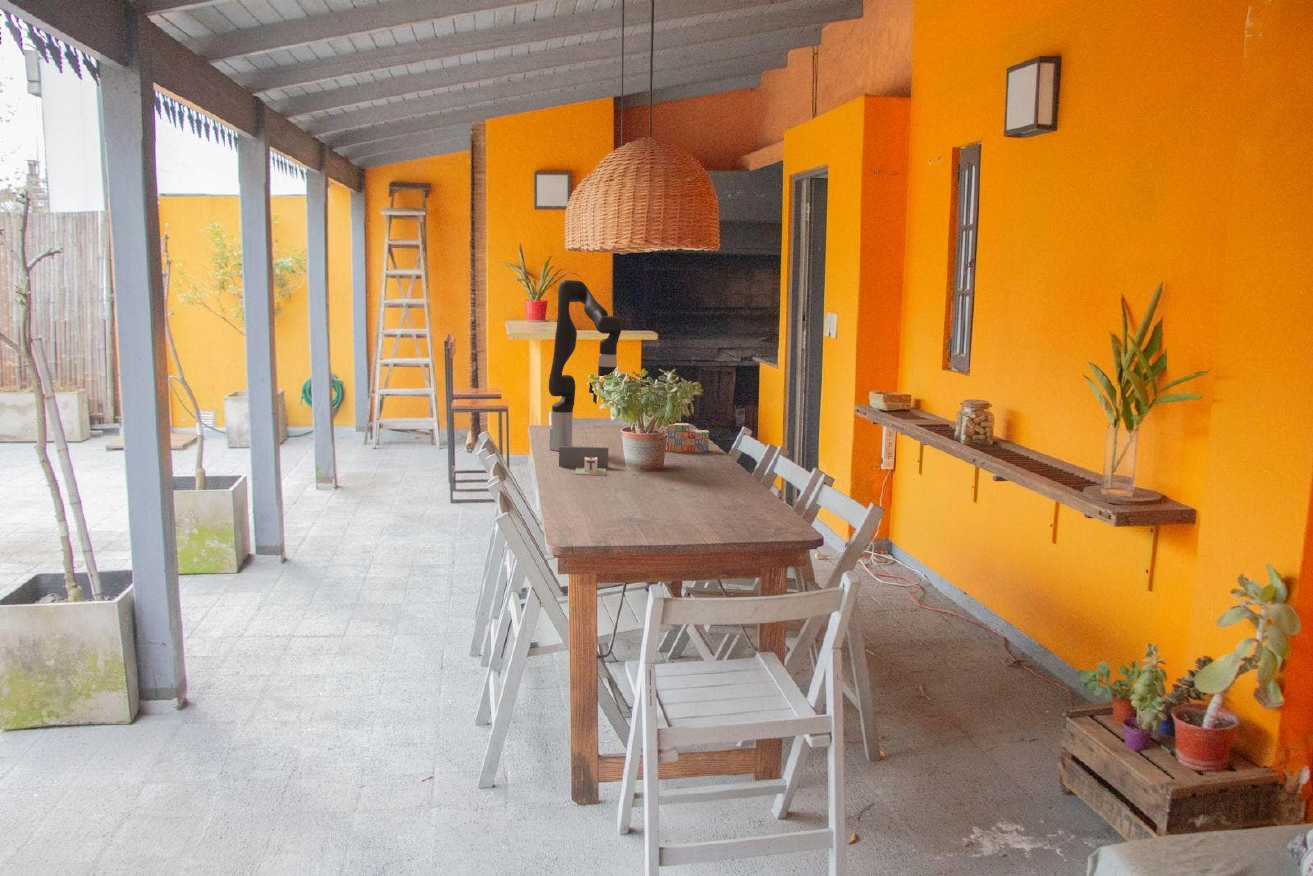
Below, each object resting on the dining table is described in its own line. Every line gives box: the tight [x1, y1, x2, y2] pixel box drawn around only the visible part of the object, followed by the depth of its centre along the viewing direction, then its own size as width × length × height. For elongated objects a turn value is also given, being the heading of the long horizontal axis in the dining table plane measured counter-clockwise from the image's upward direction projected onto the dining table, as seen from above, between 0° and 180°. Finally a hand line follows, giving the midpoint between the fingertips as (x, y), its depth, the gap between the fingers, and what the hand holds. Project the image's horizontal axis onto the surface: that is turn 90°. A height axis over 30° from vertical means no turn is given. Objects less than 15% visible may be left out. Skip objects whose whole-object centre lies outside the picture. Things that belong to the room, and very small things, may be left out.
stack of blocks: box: [665, 422, 710, 453], centre depth 458 cm, size 21×6×12 cm, turn 91°
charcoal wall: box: [558, 446, 609, 468], centre depth 413 cm, size 20×2×8 cm, turn 93°
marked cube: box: [583, 457, 598, 472], centre depth 402 cm, size 5×5×5 cm
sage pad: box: [574, 467, 607, 476], centre depth 403 cm, size 12×12×1 cm
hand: (605, 403), depth 419 cm, fingers open, 8 cm apart
